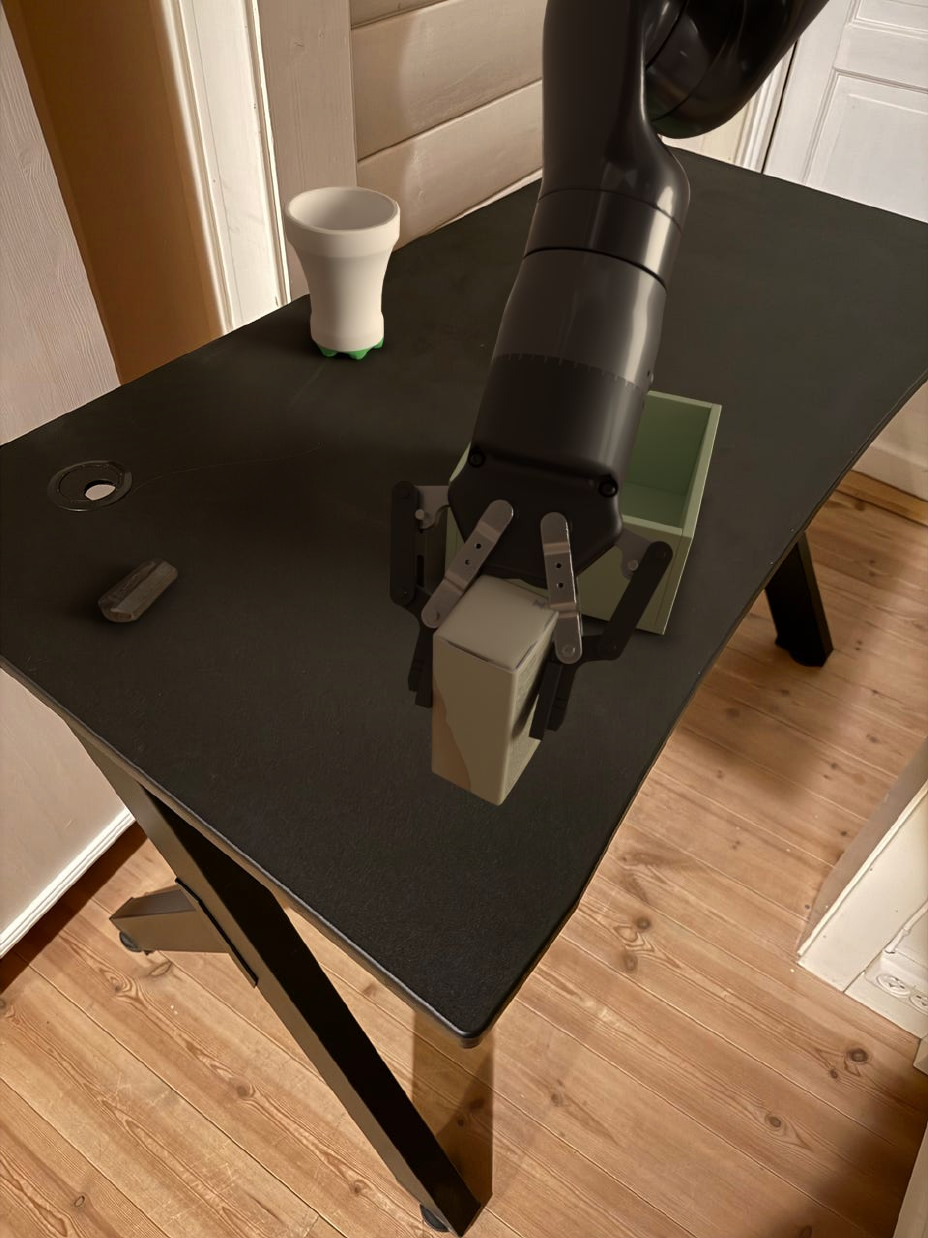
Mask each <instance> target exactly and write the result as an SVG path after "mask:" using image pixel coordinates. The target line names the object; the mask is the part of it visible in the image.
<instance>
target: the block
mask: <svg viewBox="0 0 928 1238" xmlns="http://www.w3.org/2000/svg"><path fill="white" fill-rule="evenodd" d="M178 576H179V571H178V570H177V568H175V567H174V566H173V565H171V564H169V563H168V562H167V561H165V560H163V559H161V558H158V557H152V558H147V559H146V560H145V561H144V562H142V563H141V564H139V565H138V566H137V567H136V568H135V569H133V570H132V571H131V572H130V573H129V574H128V575H126V576H125V577H124V578H123V579H121V580H120V581H119V582H118V583H117V584H115V585H114V586H113V587H111V588H110V589H109V590H108V591H107V592H105V593H104V594H103V595H102V596H101V597H99V599H98V602H97V603H98V607H99V608H100V610H101V612H102V614H103V616H104V617H105V618H106V619H107V620H109V621H111V622H114V623H129V622H132V621H136V620H137V619H139V618H140V616H142V614H143V613H144V612H145V611H146V610H147V609H148V608H149V607H150V606H151V605H152V604H153V603H154V602H155V601H156V599H158V598H159V597H160V595H161V594H162V593H164V591H165V590H166V589H167V588H168V587H169V586H170V585H171V584H172V583H173V582H174V581H175V580H176V579H177V577H178Z"/></svg>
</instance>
